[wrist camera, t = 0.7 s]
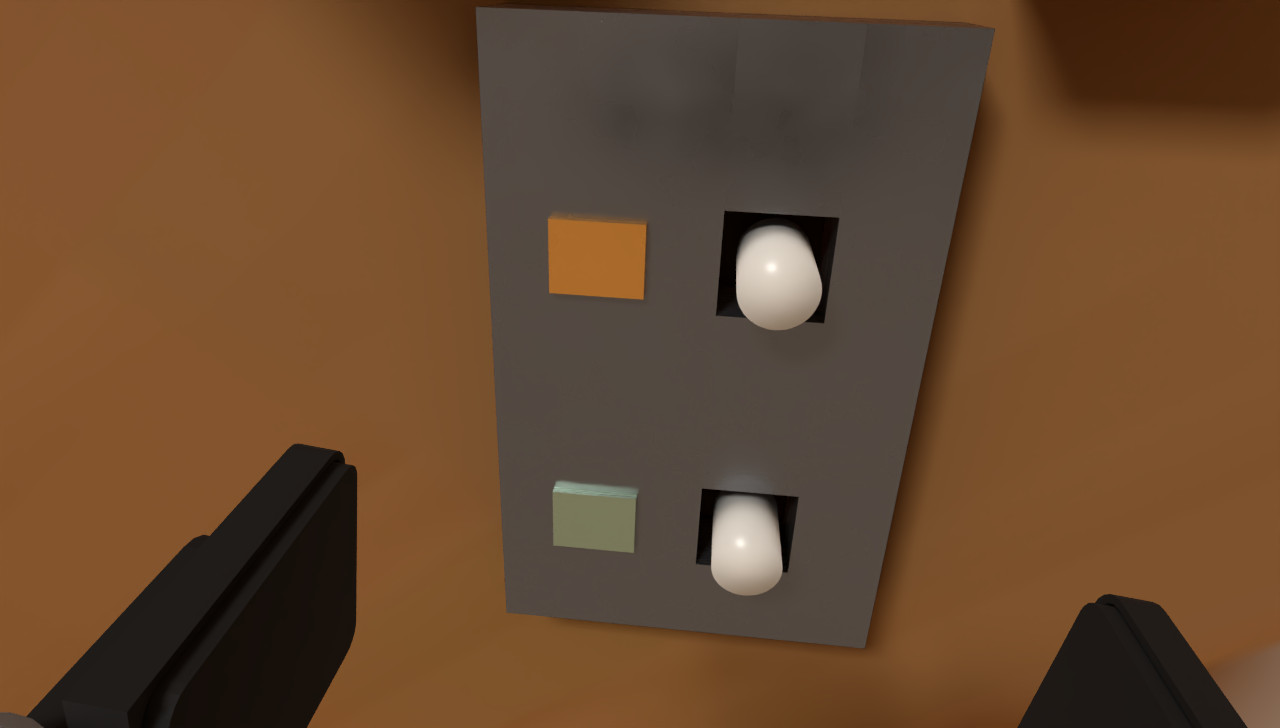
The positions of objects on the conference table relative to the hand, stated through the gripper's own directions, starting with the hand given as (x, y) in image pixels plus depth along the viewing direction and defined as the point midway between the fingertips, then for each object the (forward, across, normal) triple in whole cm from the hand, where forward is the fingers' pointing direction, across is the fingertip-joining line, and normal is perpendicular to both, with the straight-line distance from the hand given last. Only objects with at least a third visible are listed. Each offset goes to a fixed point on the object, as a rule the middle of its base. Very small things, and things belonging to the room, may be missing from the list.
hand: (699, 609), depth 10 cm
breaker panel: (+19, -1, +5) cm, 19 cm away
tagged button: (+17, -2, 0) cm, 17 cm away
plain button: (+17, -3, +10) cm, 20 cm away
